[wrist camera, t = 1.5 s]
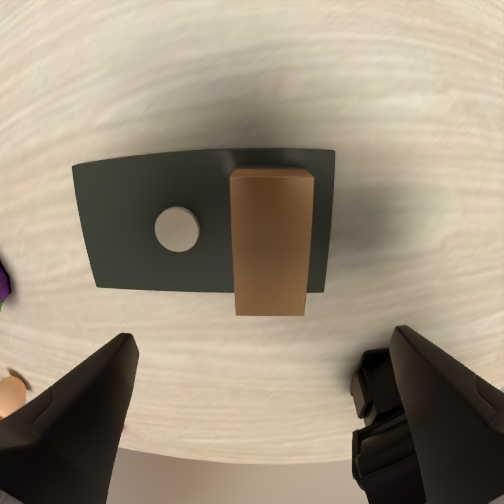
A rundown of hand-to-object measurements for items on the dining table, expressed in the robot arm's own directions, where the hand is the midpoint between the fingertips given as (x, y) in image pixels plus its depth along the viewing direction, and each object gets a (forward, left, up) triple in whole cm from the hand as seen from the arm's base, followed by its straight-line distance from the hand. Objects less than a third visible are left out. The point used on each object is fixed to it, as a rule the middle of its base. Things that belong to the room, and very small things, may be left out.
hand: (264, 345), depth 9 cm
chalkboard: (+5, 0, -11) cm, 12 cm away
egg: (+39, +25, -11) cm, 47 cm away
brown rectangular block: (0, 0, -11) cm, 11 cm away
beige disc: (+6, 0, -11) cm, 12 cm away
